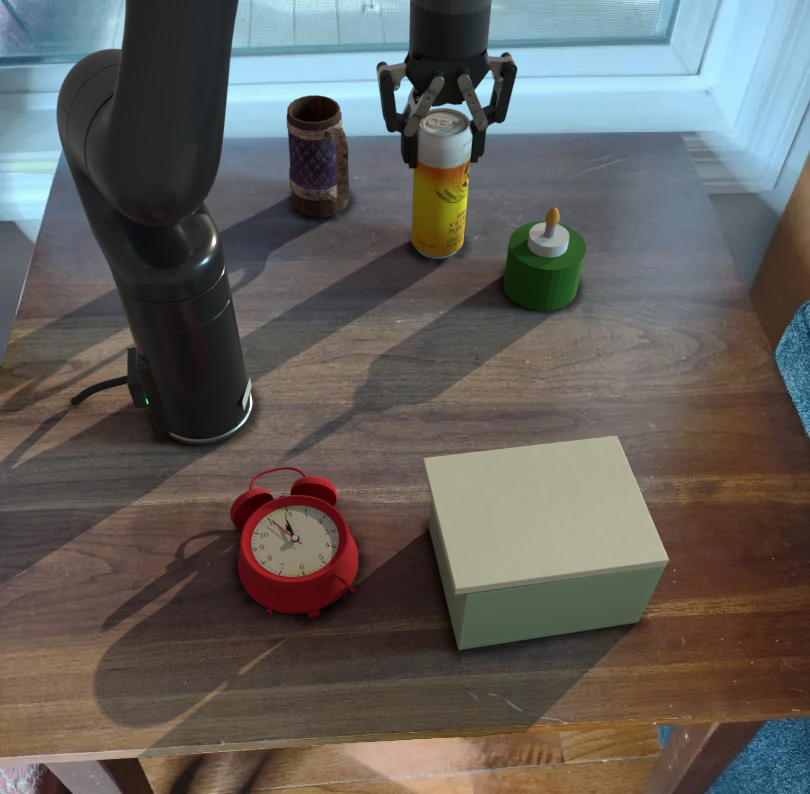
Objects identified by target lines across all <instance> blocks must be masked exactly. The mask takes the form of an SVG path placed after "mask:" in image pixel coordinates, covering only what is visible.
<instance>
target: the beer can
mask: <svg viewBox="0 0 810 794" xmlns="http://www.w3.org/2000/svg"><path fill="white" fill-rule="evenodd" d="M416 135H417V163H416V168H412V171H413V173H412V199H411V200H412V203H411V204H412V205H411V235H410V236H411V238H410V239H411V244H412V245H413V247H414V248H415V249H416V251H418V253H419V254H421V255H422V256H424V257H427V258H429V259H433V260H435V259H437V260H440V259H445V258H447V259H448V258H449V257H452V256H453V255H455V254H456V252H458V251H459V250H460V249H461V248H462V247H463V244H464V237H465V230H466V229H465V227H466V217H467V206H468V192H469V180H470V170H471V162H470V160H471V149H472V137H473V132H472V129H471V126H470V119H469V117H468V116H467V114H465V113H464V112H462V111H459V110H457V109H454V108H447V107H438V108H432V109H430V110H429V111H428V113H427V115H426V117H425V118H424V119H422V120H421V122H420V124H419V126H418V128H417V130H416Z"/></svg>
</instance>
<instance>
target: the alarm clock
mask: <svg viewBox="0 0 810 794" xmlns="http://www.w3.org/2000/svg"><path fill="white" fill-rule="evenodd" d="M286 470H287V471H295V472H297V473H299V474H300V475H301V476H302V477H301V478H298V479H296V480H295V481H294V482H293V484H292V485H291V488H290V493H289V494H290V495H284V494H283V495H278V497H277V498H274V497H273V495H272V494H271V493H270V492H269V491H268V490H266V489H265V488H260V487H256V488H253V485H254V482H255V481H256V480H258V479H259V478H260V477H262V476H264V475H266V474H270V473H274V472H278V471H286ZM337 493H338V492H337V489H336V486H334V484H333V483H332V482H331V481H330V480H328V479H326V478H324V477H320V476H315V475H309V476H307V474H305V472H304V471H303V470H301V469H299V468H297V467H295V466H280V467H275V468H271V469H267V470H264V471H262V472H259V473H258V474H256V475H255V476H254V477H253V478H252V479H251V481H250V483H249V489H248V490H247V491H244V492H243V493H241V494H240V495H239V496H237V498H236V499H234V500H233V503H232V504H231V506H230V509H229V511H230V512H229V515H230V516H229V517H230V520H231V522H232V524H233V525H234V526H235V527H236V529H238V530H242V531H241V535H240V539H239V554H238V558H237V570H238V575H239V579H240V582H241V584H242V586H243V588H244V590H245V591H246V592H247V594H248V595H249V596H250V597H251V598H252V599H253V600H254V601H255V602H257V603H258V604H260V605H261V606H263V607H265V608H267V609H266V611H265V614H266V615H271V614H272V613H273V611H275V612H278V613H284V614H307V615H308V619H310V618H315V617H319V616H321V613H320V610H321V609H323V608H326V607H328V606H331V604H333V603H335V602H337V600H339V599H340V598H341V597H342V596H343V595H344V594H345V593H346V592H347V591H348V590H350V593H351V594H355V593H357V588H355V587H352V584H353V582H354V580H355V578H356V575H357V573H358V568H359V552H358V551H359V550H358V547H357V545H356V544H357V543H356V541H355V539H354V538H353V536H352V534H351V532H350V528H349V526H348V523H347V521H346V520H345V518H344V517H343V515H342V514H341V513H340V511H339V510H338V509H337V508H336V507H335V505H336V504H337V501H338V500H337V499H338V494H337Z"/></svg>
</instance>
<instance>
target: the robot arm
mask: <svg viewBox="0 0 810 794" xmlns="http://www.w3.org/2000/svg"><path fill="white" fill-rule="evenodd" d="M124 2H125V4H124V5H125V7H124V23H123V24H124V25H123V35H122V41H121V48H105V49H100V50H97V51H94V52H91V53H89V54H87V55H85V56H84V57H82V58H81V59H79V60H78V61H77V62H76V63H75V64H74V65H73V66H72V67H71V69H69V71H68V72H67V74H66V76H65V77H64V79H63V81H62V83H61V86H60V89H59V91H58V96H57V100H56V114H55V115H56V126H57V132H58V137H59V141H60V144H61V147H62V152H63V155H64V157H65V160H66V163H67V166H68V169H69V171H70V174H71V177H72V181H73V183H74V185H75V188H76V191H77V194H78V197H79V199H80V203H81V206H82V209H83V211H84V214H85V217H86V220H87V222H88V225H89V227H90V230H91V232H92V234H93V237H94V239H95V241H96V243H97V245H98V247H99V249H100V250H101V253H102V254H103V256H104V259H105V260H106V262H107V265H108V267H109V270H110V273H111V275H112V276H111V277H112V279H113V282H114V284H115V287H116V290H117V293H118V296H119V300H120V303H121V306H122V309H123V311H124V315H125V318H126V321H127V324H128V325H127V326H128V327H129V331H130V334H131V338H132V341H133V343H134V344H133V345H134V346H135V347H134V346H133V347H128V348H127V349H126V355H127V357H126V358H127V360H126V362H127V363H126V365H127V366H126V368H127V369H126V375H123V376H119V377H115V378H111V379H108V380H104V381H101V382H97V383H95V384H92V385H90V386H88V387H85V388H84V389H83V390H81V391H80V392H79V393H78V394H76V395H75V396H71V399H70V403H71V404H70V405H72V406H78V405H79V404H82V403H83V402H84V401H86V399H88V398H89V397H91V396H92V395H95V394H96V393H100V392H102V391H105V390H108V389H111V388H116V387H120V386H124V385H127V388H128V391H129V394H130V397H131V400H132V404H133V405H134V408H135V409H144V408H149V411H150V415H151V417H152V420H153V423H154V426H155V429H156V432H157V435H158V438H161V439H163V438H171V439H173V440H175V441H178V442H180V443H183V444H187V445H193V446H194V445H195V446H198V445H199V446H202V445H211V444H216V443H220V442H222V441H225V440H227V439H230V438H231V437H233V436H235V435H236V434H237V433H239V432H240V431H241V430H243V428H245V426H246V425H247V424H248V422H249V420H250V419H251V417H252V413H253V407H254V406H253V404H254V403H253V397H252V393H251V390H252V380H251V378H249V379H248V376H247V370H246V366H245V365H246V364H245V360H244V355H243V349H242V344H241V338H240V334H239V333H240V332H239V328H238V322H237V317H236V311H235V307H234V301H233V294H232V290H231V285H230V279H229V274H228V268H227V263H226V258H225V253H224V247H223V242H222V237H221V234H220V231H219V229H218V226H217V225H216V223H215V221H214V219H213V217H212V215H211V213H210V212H209V210H208V208H207V206H206V204H205V200H206V199H207V197H208V196H209V194H210V192H211V189H212V188H213V186H214V183H215V181H216V177H217V176H218V173H219V167H220V163H221V157H222V151H223V144H224V135H225V124H226V114H227V113H226V112H227V103H228V102H227V101H228V91H229V80H230V70H231V69H230V68H231V58H232V50H233V41H234V40H233V39H234V33H235V28H236V27H235V26H236V19H237V13H238V8H239V3H240V0H125V1H124ZM492 2H493V0H409V29H408V31H409V32H408V34H409V36H408V38H409V39H408V51H407V54H406V56H405V58H404V60H403V62H400V63H394V64H388V63H387V62H386V61H380V62H378V63H377V65H376V67H375V68H376V76H377V85H378V91H379V98H380V107H381V111H382V113H381V114H382V118H383V120H384V122H385V123H384V124H385V128H386V131H387V132H388V133H390V134H393V133H396V132H397V133H400V154H401V158H402V161H403V163H404V164H405V165H406V164H407V166H408V169H409V170H411V169H412V170H413V168H416V163H417V135H416V130H417V128H418V126H419V124H420V122H421V120H422V119H424V118H425V117H426V115H427V113H428V111H429V110H431V108H432V107H433V108H434V107H443V106H444V105H453V106H458V105H463V103H464V102H465V103H466V105H467V109H468V110H469V113H470V115H471V117H472V119H469V121H470V126H471V129H472V132H473V137H472V149H471V160H470V164H477V163H478V162H479V158H483V156H484V154H485V147H486V137H487V130H488V128H489V126H491V125H493V124H503V123H504V122H505V121H506V118H507V114H508V111H509V107H510V103H511V98H512V94H513V90H514V85H515V81H516V78H517V74H518V66H517V64H516V62H515V60H514V58H513V57H512V54H511V53H510V52H508V51H505V52H502V53H501V55H500V56H492V55H489V52H488V45H489V35H490V24H491V13H492ZM489 72H491V77H492V79H493V81H494V82H493V87H492V90H491V95H490V98H489V99H490V100H489V103H488V105H486V106H484V107H482V105H481V101H480V100H479V97H478V95H477V92H476V90H477V88H478V87H479V85H481V83H482V82H483V80H484V79H485V78H486V76H487V75H488V74H489ZM404 78H407V80H408V81H409V83H410V84H411V85H412V88H411V90H410V92H409V94H408V96H407V102H406V104H405V105H404V106H405V107H404V108H403V110H402V112H401V113H400V112H398V111H397V104H396V97H395V96H396V95H395V92H397V91H398V90H399V89H400V87H401V83H402V80H403V79H404Z"/></svg>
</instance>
